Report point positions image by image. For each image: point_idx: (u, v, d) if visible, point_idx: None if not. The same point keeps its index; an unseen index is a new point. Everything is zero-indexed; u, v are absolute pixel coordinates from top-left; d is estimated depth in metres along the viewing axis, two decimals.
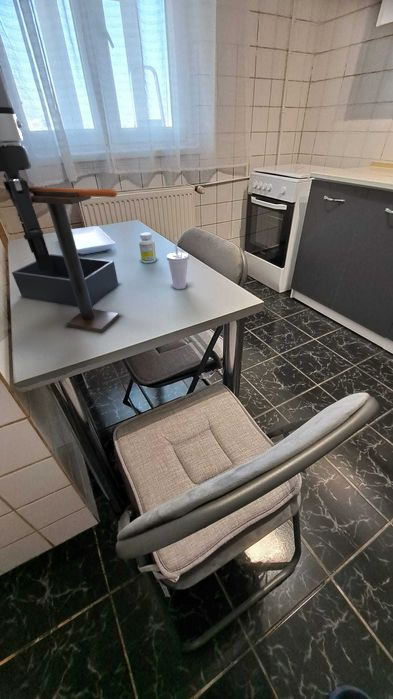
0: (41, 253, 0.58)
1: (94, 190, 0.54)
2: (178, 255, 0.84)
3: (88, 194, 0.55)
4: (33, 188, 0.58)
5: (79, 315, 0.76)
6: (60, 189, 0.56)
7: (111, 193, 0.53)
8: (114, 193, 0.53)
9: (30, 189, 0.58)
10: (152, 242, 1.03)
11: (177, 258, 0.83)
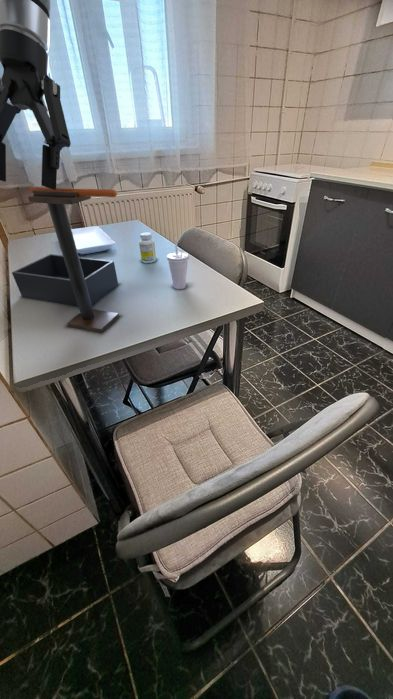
0: (56, 166, 0.53)
1: (94, 190, 0.54)
2: (178, 255, 0.84)
3: (88, 194, 0.55)
4: (33, 188, 0.58)
5: (79, 315, 0.76)
6: (60, 189, 0.56)
7: (111, 193, 0.53)
8: (114, 193, 0.53)
9: (30, 189, 0.58)
10: (152, 242, 1.03)
11: (177, 258, 0.83)
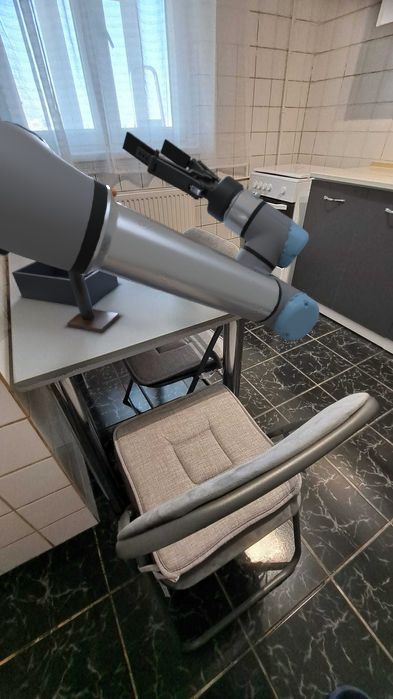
0: None
1: None
2: None
3: None
4: None
5: (79, 315, 0.76)
6: None
7: None
8: (114, 193, 0.53)
9: None
10: None
11: None
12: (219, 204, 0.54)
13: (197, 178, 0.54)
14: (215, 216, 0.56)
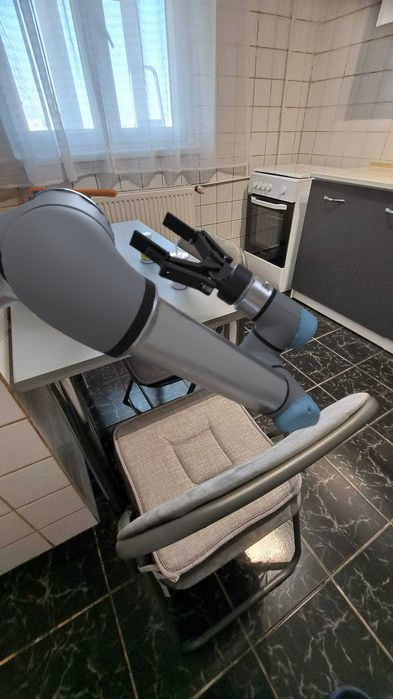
0: None
1: (94, 190, 0.54)
2: (178, 255, 0.84)
3: (88, 194, 0.55)
4: (33, 188, 0.58)
5: None
6: None
7: (111, 193, 0.53)
8: (114, 193, 0.53)
9: (30, 189, 0.58)
10: None
11: None
12: (230, 296, 0.54)
13: (207, 269, 0.53)
14: (225, 302, 0.56)
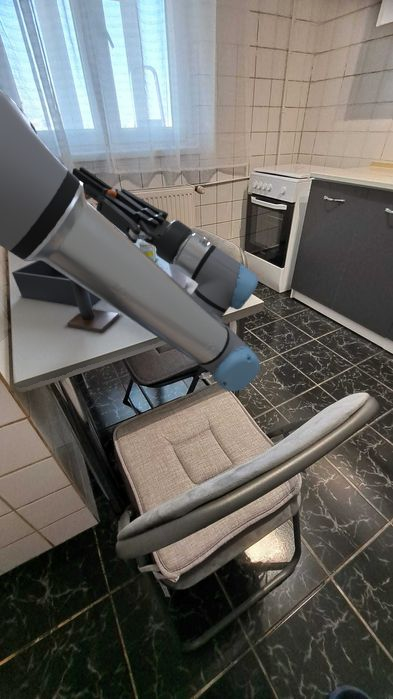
0: None
1: None
2: None
3: None
4: None
5: (79, 315, 0.76)
6: None
7: (111, 193, 0.53)
8: (114, 193, 0.53)
9: None
10: None
11: None
12: (167, 252, 0.53)
13: (142, 225, 0.52)
14: (165, 260, 0.55)
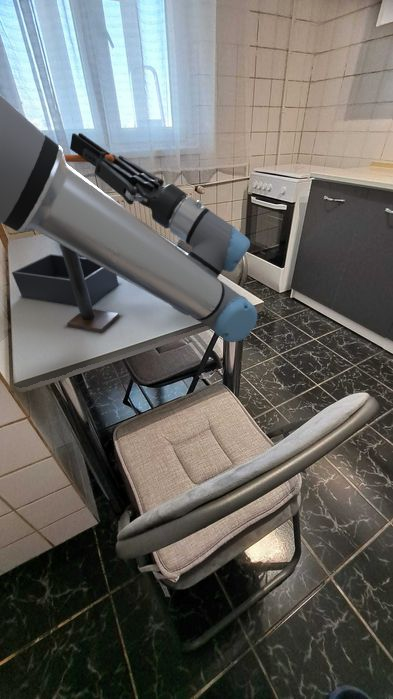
0: None
1: None
2: None
3: None
4: None
5: (79, 315, 0.76)
6: None
7: (108, 158, 0.55)
8: (111, 158, 0.55)
9: None
10: None
11: None
12: (162, 214, 0.55)
13: (139, 187, 0.54)
14: (160, 224, 0.58)
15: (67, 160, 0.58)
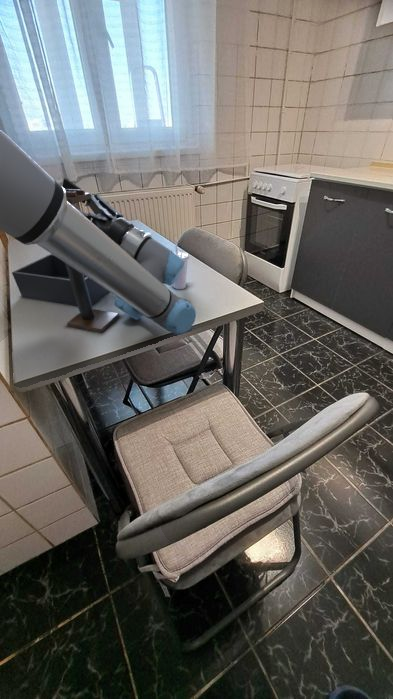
0: None
1: None
2: (178, 255, 0.84)
3: None
4: None
5: (79, 315, 0.76)
6: None
7: None
8: None
9: None
10: None
11: None
12: (113, 241, 0.71)
13: (95, 221, 0.70)
14: None
15: None
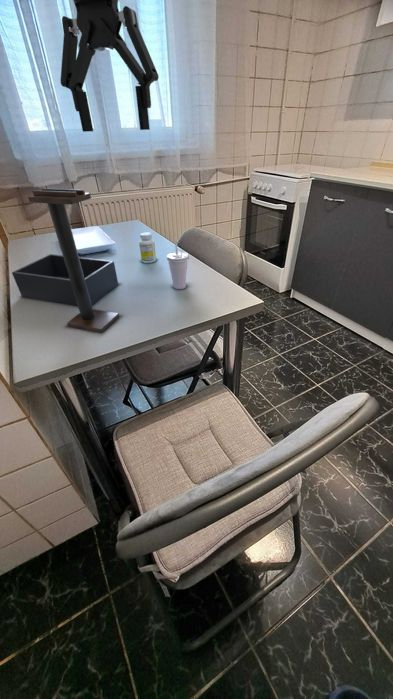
0: (149, 105, 0.56)
1: None
2: (178, 255, 0.84)
3: None
4: None
5: (79, 315, 0.76)
6: None
7: None
8: None
9: None
10: (152, 242, 1.03)
11: (177, 258, 0.83)
12: None
13: None
14: None
15: None
